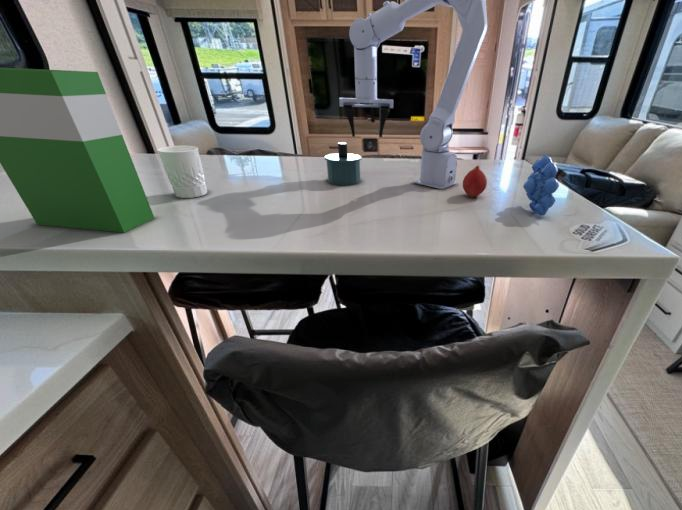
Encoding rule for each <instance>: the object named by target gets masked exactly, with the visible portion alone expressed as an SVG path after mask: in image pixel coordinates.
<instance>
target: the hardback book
mask: <svg viewBox="0 0 682 510" xmlns="http://www.w3.org/2000/svg"><path fill="white" fill-rule="evenodd" d="M0 165H1V167H2V168H3V170H4V172H5V173H6V175H7V177H8V179H9V180H10V182H11V185H12V186H13V187H14V189H15V190H16V192H17V194H18V195H19V197H20V199H21V200H22V202H23V204H24V205H25V207H26V208H27V210H28V213H30V215H31V217H32V218H33V220H34V221H35V223H36V225H38V226H39V225H40V226H49V227H61V228H71V229H81V230H94V231H104V232H112V233H113V232H115V233H126V232H129V231H130V230H133V229H135V228H137V227H139V226H141V225H144V224H145V223H148V222H150V221H152V220H154V219H155V215H154V212H153V210H152V208H151V207H152V206H151V205H150V202H149V200H148V198H147V194H146V192H145V189H144V187H143V185H142V182H141V180H140V179H141V178H140V177H139V175H138V172H137V169H136V167H135V165H134V161H133V159H132V156H131V154H130V152H129V149H128V146H127V143H126V141H125V139H124V136H123V133H122V131H121V128H120V125H119V123H118V121H117V118H116V115H115V113H114V110H113V108H112V105H111V103H110V100H109V98H108V95H107V92H106V90H105V88H104V84H103V82H102V79H101V77H100V74H99V72H98V71H88V70H86V71H85V70H64V69H63V70H61V69H41V68H40V69H38V68H20V67H19V68H16V67H0Z"/></svg>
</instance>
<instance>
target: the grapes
mask: <svg viewBox="0 0 682 510" xmlns="http://www.w3.org/2000/svg"><path fill="white" fill-rule="evenodd" d="M531 169H532V171H533V172H531V173H530V174H529V176H528V177H527V179H526V180H525V182H524V183H523V185H522V187H523V189H524V191H525V192H526V194H525V195H526V197H527V198H528V200H529V201H530V202H529V204H528V206H529V208H530V210H531V211H532V212H533V213H536V214H537V215H538V216H544V215H546V214H547V213H548V211H549V209H550V208H552V207H553V206H554V204H555V202H556V198H555V196H554V195H553V194H554V193H556V192H557V190H558V189H559V187H560V184H559V181H558V179H556V178H555V176H556V175H557V174H558V172H559V169H558V167H557V165H556V163H554V162H553V160H552V158H551V157H550V156H549V155H543V156H541V158H540V159H537V160H536V161H534V163H533V164H532V166H531Z"/></svg>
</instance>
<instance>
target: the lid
mask: <svg viewBox="0 0 682 510" xmlns="http://www.w3.org/2000/svg"><path fill="white" fill-rule="evenodd" d="M324 160H325V161H326V162H327V161H330V162H337V163H351V162H357V161H360V162H361V160H362V156H361V155H359V154H355V153H348V143H347V142H343V141H342V142H337V153H329V154H326V155H325V156H324Z"/></svg>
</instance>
